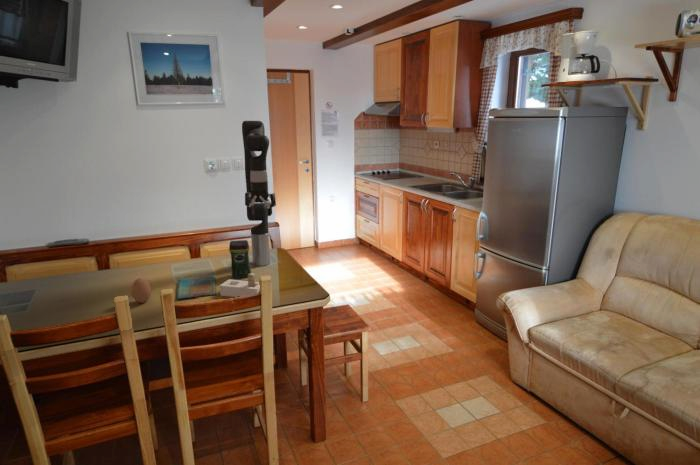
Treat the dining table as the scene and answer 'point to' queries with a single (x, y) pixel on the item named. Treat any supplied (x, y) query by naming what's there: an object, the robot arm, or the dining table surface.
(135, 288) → the egg
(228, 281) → the block
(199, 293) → the book
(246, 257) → the coffee jar
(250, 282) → the peg
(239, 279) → the mat
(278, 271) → the dining table surface
